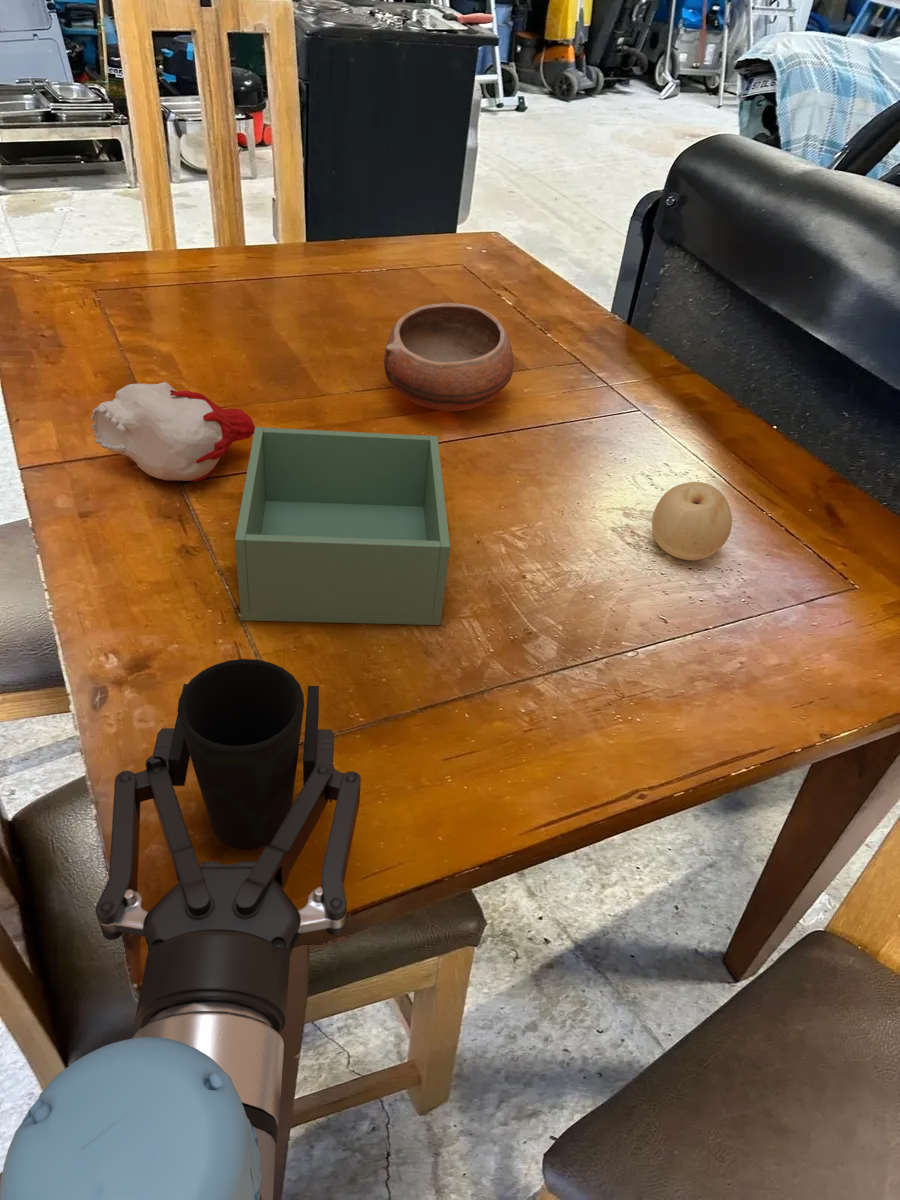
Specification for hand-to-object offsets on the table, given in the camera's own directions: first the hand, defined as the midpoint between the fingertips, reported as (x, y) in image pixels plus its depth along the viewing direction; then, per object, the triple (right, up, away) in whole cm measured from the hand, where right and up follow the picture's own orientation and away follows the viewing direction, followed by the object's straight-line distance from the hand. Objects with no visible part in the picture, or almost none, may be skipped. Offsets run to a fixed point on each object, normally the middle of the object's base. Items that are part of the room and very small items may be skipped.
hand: (252, 698), depth 62 cm
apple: (+38, +12, +31) cm, 50 cm away
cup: (0, -9, +1) cm, 9 cm away
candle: (-14, +21, +33) cm, 41 cm away
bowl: (+13, +32, +49) cm, 60 cm away
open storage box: (+4, +11, +23) cm, 26 cm away
